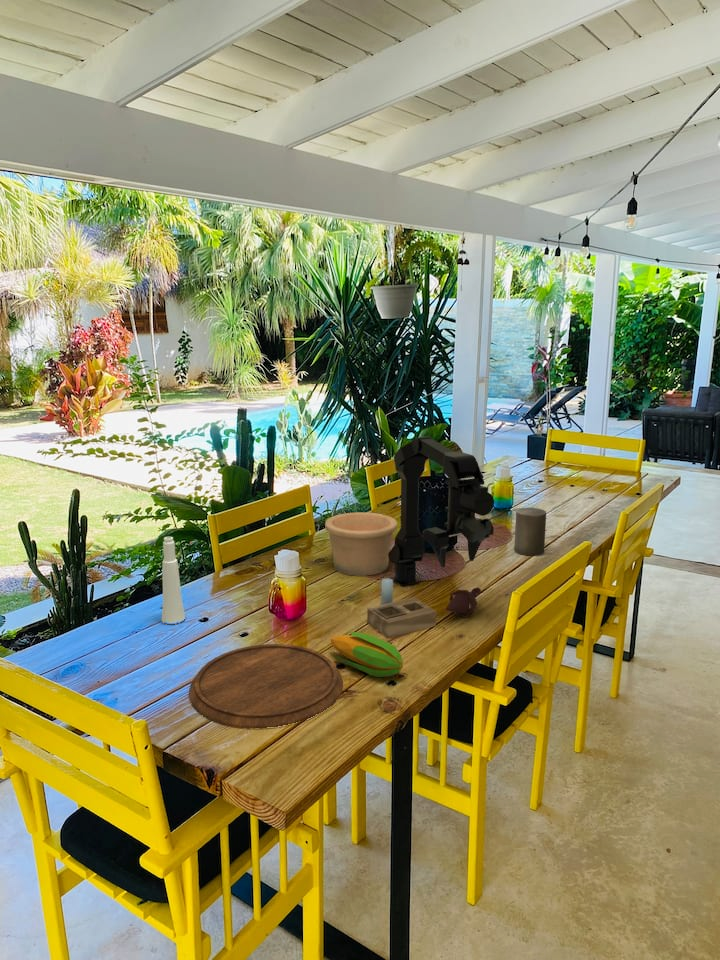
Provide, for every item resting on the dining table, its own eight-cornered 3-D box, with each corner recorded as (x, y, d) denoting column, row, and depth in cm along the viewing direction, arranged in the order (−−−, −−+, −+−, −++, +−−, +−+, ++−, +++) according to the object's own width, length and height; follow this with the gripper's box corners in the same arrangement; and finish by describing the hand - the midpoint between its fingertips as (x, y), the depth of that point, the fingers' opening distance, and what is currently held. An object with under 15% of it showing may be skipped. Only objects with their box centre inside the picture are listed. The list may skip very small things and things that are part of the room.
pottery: (314, 574, 213) (314, 528, 209) (340, 551, 233) (340, 509, 230) (384, 583, 206) (384, 536, 203) (404, 559, 226) (405, 515, 223)
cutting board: (374, 684, 151) (374, 673, 151) (258, 752, 128) (257, 739, 127) (273, 639, 172) (273, 629, 171) (158, 690, 149) (157, 679, 148)
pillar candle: (547, 556, 229) (550, 511, 225) (516, 556, 229) (519, 510, 226) (540, 546, 238) (543, 503, 235) (511, 546, 238) (513, 503, 235)
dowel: (379, 607, 189) (379, 579, 187) (388, 605, 191) (389, 577, 189) (385, 611, 187) (385, 583, 185) (394, 609, 188) (395, 581, 186)
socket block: (367, 622, 180) (367, 607, 179) (413, 611, 187) (413, 596, 186) (388, 638, 172) (388, 621, 171) (435, 625, 178) (436, 609, 177)
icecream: (462, 604, 175) (492, 592, 187) (438, 590, 180) (470, 578, 191) (454, 628, 178) (484, 614, 189) (431, 613, 182) (462, 601, 193)
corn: (391, 654, 148) (319, 627, 160) (389, 688, 149) (318, 659, 161) (411, 643, 153) (340, 618, 165) (409, 676, 155) (339, 649, 167)
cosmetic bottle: (169, 627, 177) (164, 543, 172) (156, 620, 181) (151, 537, 176) (190, 619, 182) (185, 537, 176) (177, 613, 186) (172, 532, 180)
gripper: (449, 518, 166) (447, 581, 170) (510, 507, 175) (506, 567, 179) (422, 507, 175) (420, 566, 179) (480, 497, 185) (477, 553, 188)
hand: (457, 563), depth 181 cm, fingers open, 9 cm apart
